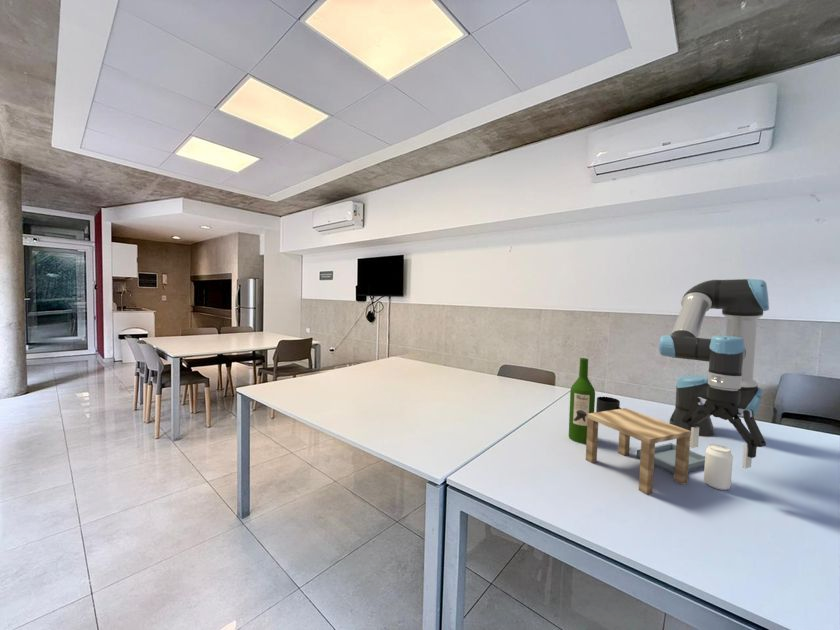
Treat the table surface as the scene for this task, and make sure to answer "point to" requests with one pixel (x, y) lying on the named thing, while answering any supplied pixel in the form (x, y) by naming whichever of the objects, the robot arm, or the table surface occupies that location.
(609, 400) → the mug
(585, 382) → the wine bottle
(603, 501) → the table surface
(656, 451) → the tray
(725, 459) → the beverage can
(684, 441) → the small wooden table
